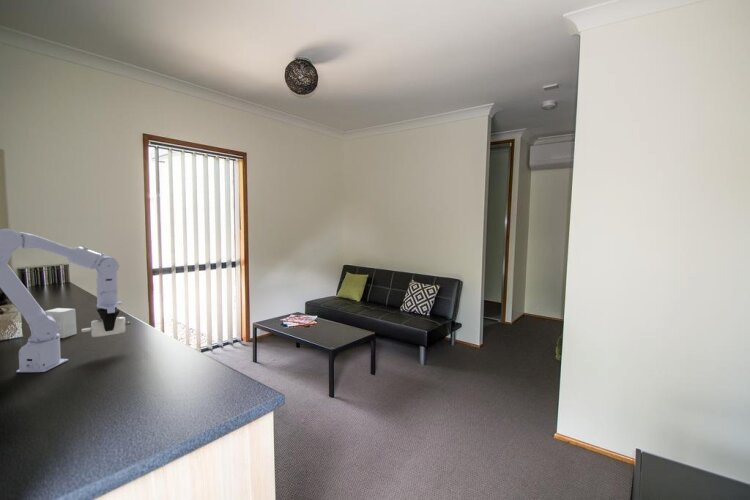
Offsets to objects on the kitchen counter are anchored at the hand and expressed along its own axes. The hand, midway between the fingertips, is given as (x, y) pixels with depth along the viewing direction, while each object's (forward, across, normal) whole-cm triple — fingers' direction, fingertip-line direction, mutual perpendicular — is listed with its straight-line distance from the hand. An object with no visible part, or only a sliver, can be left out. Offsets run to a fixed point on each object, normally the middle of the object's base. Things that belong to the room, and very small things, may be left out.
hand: (108, 329), depth 122 cm
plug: (+2, 0, 0) cm, 2 cm away
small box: (+9, +34, +11) cm, 37 cm away
